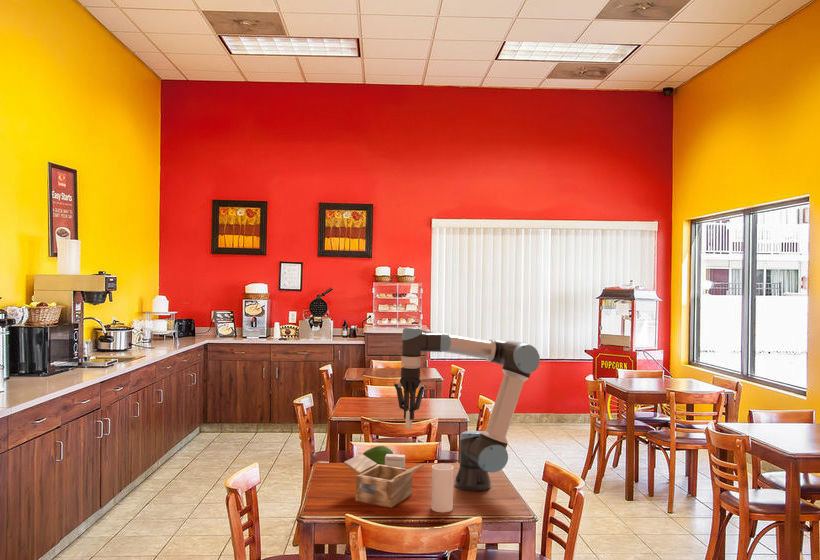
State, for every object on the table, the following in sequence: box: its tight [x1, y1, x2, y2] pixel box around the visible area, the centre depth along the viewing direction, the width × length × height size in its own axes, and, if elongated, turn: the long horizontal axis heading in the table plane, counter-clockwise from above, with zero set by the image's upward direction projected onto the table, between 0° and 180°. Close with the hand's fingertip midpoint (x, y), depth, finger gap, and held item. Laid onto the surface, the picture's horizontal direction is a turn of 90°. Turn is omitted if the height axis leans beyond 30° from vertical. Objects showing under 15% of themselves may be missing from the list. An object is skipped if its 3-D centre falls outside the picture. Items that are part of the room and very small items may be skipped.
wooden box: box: [355, 464, 413, 509], centre depth 249 cm, size 16×19×10 cm
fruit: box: [362, 445, 394, 465], centre depth 290 cm, size 15×10×10 cm, turn 91°
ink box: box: [385, 453, 406, 469], centre depth 269 cm, size 8×5×12 cm, turn 84°
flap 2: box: [393, 462, 427, 480], centre depth 244 cm, size 1×14×8 cm
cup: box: [430, 463, 455, 513], centre depth 238 cm, size 8×8×16 cm
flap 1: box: [343, 453, 377, 474], centre depth 254 cm, size 1×14×8 cm
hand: (408, 427), depth 243 cm, fingers closed
